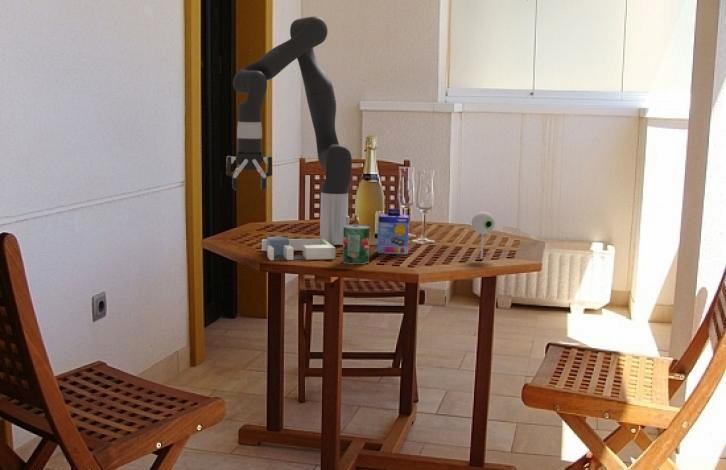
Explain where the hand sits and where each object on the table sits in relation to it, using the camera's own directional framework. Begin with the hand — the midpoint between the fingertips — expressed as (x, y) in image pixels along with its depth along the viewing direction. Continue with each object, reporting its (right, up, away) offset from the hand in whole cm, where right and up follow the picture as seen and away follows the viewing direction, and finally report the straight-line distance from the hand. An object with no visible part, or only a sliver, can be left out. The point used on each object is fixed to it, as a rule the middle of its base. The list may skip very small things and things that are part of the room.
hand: (249, 190), depth 284 cm
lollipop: (+72, -22, +5) cm, 76 cm away
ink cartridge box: (+45, -20, +13) cm, 50 cm away
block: (+8, -20, +5) cm, 22 cm away
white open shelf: (+15, -20, +4) cm, 25 cm away
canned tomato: (+33, -22, -6) cm, 40 cm away
